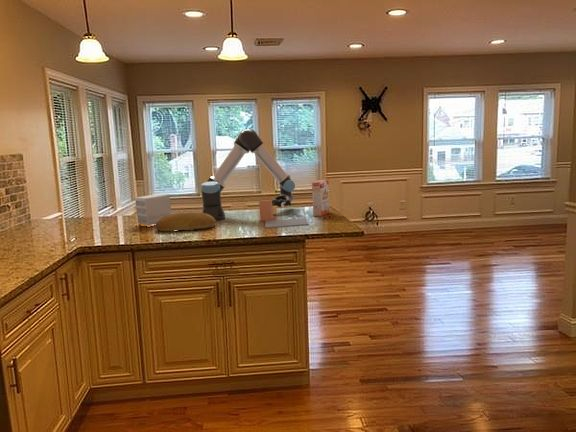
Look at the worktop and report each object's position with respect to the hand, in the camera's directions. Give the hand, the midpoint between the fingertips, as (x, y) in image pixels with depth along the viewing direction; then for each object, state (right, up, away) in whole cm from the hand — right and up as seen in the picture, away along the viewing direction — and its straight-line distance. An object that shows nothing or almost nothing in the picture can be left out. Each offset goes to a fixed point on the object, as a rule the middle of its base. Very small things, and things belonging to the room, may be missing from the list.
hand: (271, 205), depth 291 cm
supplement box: (-73, -12, +5) cm, 74 cm away
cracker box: (+31, -5, 0) cm, 32 cm away
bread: (-49, -14, -16) cm, 53 cm away
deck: (-2, -9, -7) cm, 11 cm away
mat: (+9, -10, -21) cm, 25 cm away
